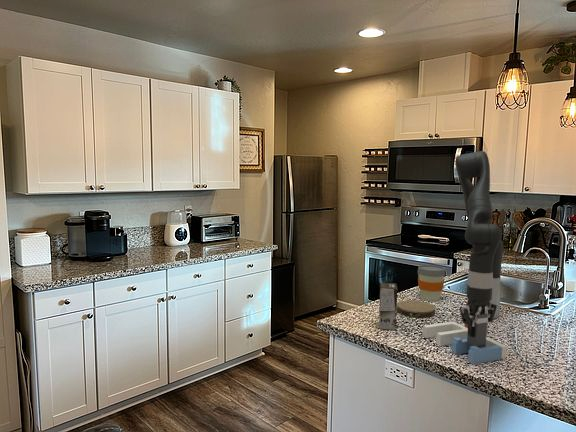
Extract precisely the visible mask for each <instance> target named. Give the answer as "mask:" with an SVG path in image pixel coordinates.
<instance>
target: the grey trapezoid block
mask: <svg viewBox="0 0 576 432" xmlns="http://www.w3.org/2000/svg"><path fill="white" fill-rule="evenodd" d="M470 314H471V313H470ZM471 316H475V315H472V314H471ZM472 320H473V319H472V318H471V322H472ZM487 322H488V314H484V313H482V314H479V315H477V320H476V324H475V337H470V336H469V335H467V347H469V348H470V347H471V346H476V347H478V348H482V347H486V337H487V333H488V332H487V330H488V324H487Z"/></svg>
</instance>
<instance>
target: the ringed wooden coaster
mask: <svg viewBox="0 0 576 432" xmlns="http://www.w3.org/2000/svg"><path fill="white" fill-rule="evenodd" d="M396 313H398V314H400V315H401V316H405V317H406V318H407V317H408V318H412V317H414V318H413V319H428V318H433V317H434V316H435V315H436V306H435V305H433V304H431V303H429V302H427V301H426V302H425V301H421V300H410V299H409V300H407V299H406V300H401V301H397V312H396Z"/></svg>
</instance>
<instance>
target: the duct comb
mask: <svg viewBox="0 0 576 432" xmlns="http://www.w3.org/2000/svg"><path fill="white" fill-rule="evenodd" d="M467 335H468V328H466V327H465V325H462V324H460V323H457V321H456V322H455V320H454V321H453V320H452V321H447V322H440V323H433V324H426V325H425V324H424V325H422V337H423V338H425V339H428V338H429V339H430V337H431V338H435V337H436V339H435V340H436V344H435V345H437V346H439V347H443V346H449V345H451V348H450V349H451V353H452V354H454V355H455V356H456V355H463V354H467V363H470V364H471V365H477V364H482V363H486V362H487V363H488V362H493V361H498V360H503V359H504V360H505V359H506V358H507V351H508V346H507V345H506V344H502V343H501V342H499V341H496V340H494V339H492V338H491V337H488V336H486V347H482V348H478V347H476V346H471V347H470V348H469V347H467Z"/></svg>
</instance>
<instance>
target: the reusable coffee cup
mask: <svg viewBox="0 0 576 432" xmlns="http://www.w3.org/2000/svg"><path fill="white" fill-rule="evenodd" d="M417 275H418V276H417V277H418V278H417V282H418V283H417V284H418V288H419V298H420V299H421V300H423V301H426V302H439V301H441V297H442V291H443V290H444V286H445V285H444V284H445V276H446V269H445V268H444V267H442V266H440V265H430V264H422V265H419V266H418V268H417Z"/></svg>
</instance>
